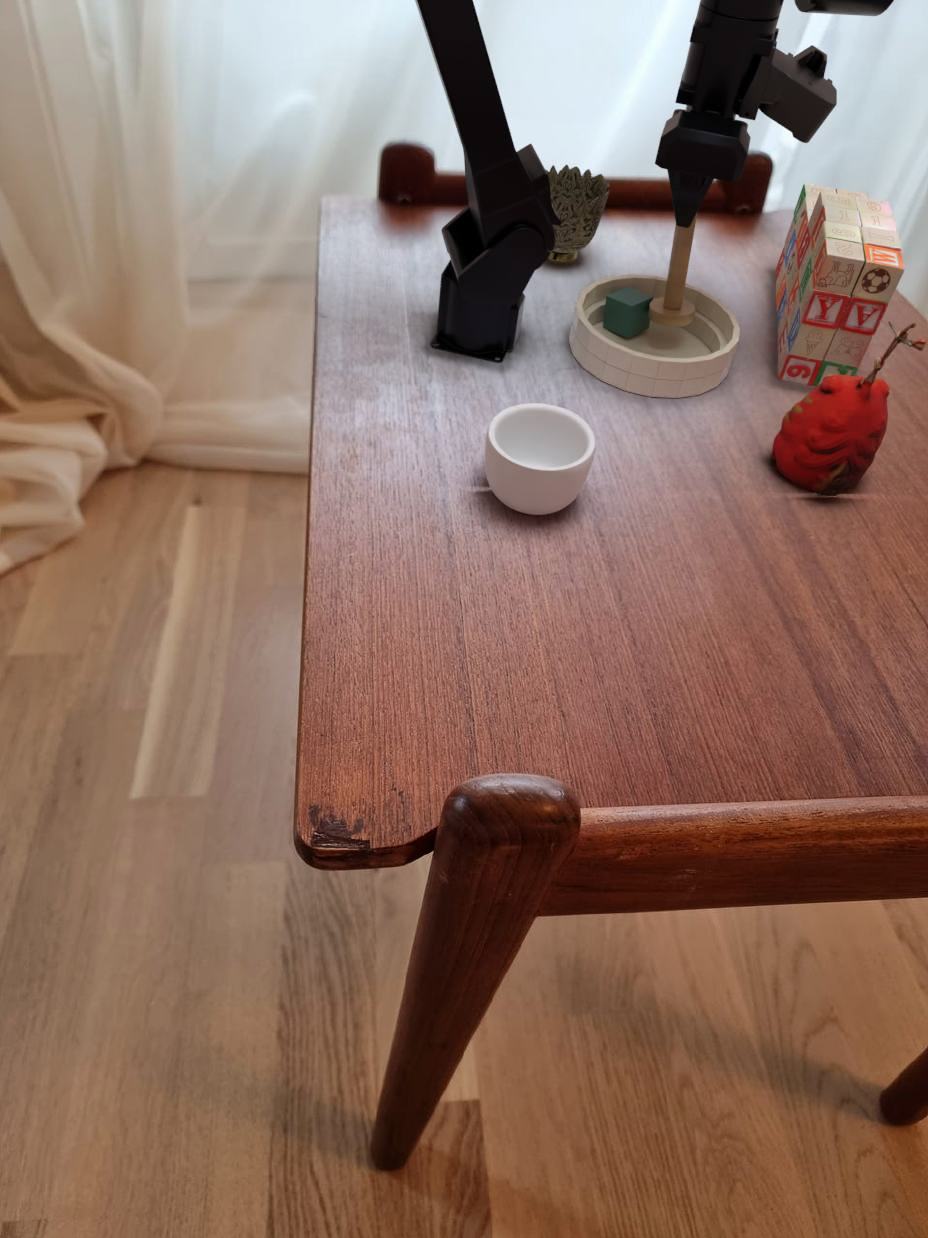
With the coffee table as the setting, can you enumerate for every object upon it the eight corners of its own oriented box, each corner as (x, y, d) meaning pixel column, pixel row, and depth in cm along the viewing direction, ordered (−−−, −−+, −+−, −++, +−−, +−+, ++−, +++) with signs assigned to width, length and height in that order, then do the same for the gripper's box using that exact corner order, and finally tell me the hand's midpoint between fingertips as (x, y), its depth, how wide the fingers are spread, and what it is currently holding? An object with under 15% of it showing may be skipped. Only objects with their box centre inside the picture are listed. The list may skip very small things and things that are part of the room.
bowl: (554, 380, 83) (562, 338, 81) (583, 301, 93) (591, 261, 90) (719, 418, 82) (734, 377, 79) (732, 334, 92) (745, 294, 89)
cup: (524, 237, 101) (536, 158, 95) (595, 248, 101) (611, 169, 95) (517, 272, 96) (529, 190, 90) (592, 284, 95) (608, 202, 90)
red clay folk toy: (840, 447, 81) (920, 277, 70) (876, 503, 76) (967, 330, 65) (753, 448, 79) (820, 275, 68) (784, 505, 75) (862, 329, 64)
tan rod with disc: (642, 321, 86) (663, 178, 78) (653, 303, 89) (674, 164, 81) (687, 330, 85) (713, 186, 77) (697, 311, 88) (723, 170, 80)
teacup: (562, 543, 69) (575, 483, 65) (462, 508, 71) (470, 448, 67) (604, 466, 76) (618, 407, 72) (512, 435, 77) (521, 376, 74)
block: (628, 338, 88) (632, 306, 86) (602, 327, 89) (605, 295, 87) (649, 328, 89) (653, 296, 87) (623, 317, 91) (627, 286, 89)
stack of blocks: (772, 271, 101) (815, 148, 92) (833, 283, 100) (882, 160, 91) (775, 384, 86) (827, 251, 77) (847, 398, 86) (907, 266, 77)
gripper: (855, 69, 63) (776, 294, 74) (852, -6, 75) (785, 196, 87) (683, 37, 64) (631, 263, 75) (708, -32, 77) (661, 171, 88)
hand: (683, 221), depth 81 cm, fingers closed on tan rod with disc, 2 cm apart
